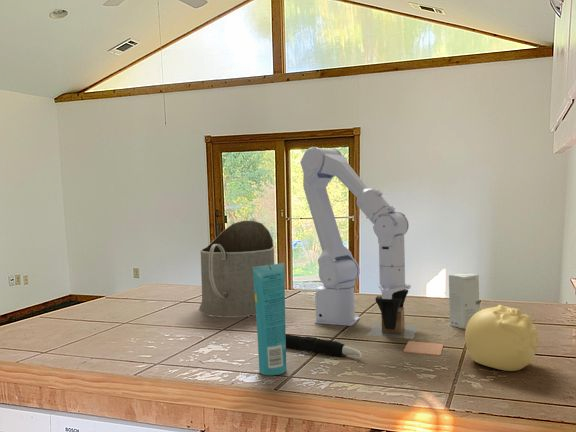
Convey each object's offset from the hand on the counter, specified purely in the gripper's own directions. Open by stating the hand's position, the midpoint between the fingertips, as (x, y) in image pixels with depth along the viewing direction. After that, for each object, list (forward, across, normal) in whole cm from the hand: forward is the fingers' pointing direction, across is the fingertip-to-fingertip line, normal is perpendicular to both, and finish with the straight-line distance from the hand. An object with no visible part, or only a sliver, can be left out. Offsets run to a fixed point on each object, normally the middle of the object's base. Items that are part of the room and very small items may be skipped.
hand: (393, 324), depth 107 cm
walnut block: (+2, 0, 0) cm, 2 cm away
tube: (+2, -32, +16) cm, 36 cm away
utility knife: (+2, -20, +12) cm, 23 cm away
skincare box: (+2, +10, -15) cm, 18 cm away
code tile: (+2, 0, 0) cm, 2 cm away
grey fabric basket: (+2, +8, +46) cm, 47 cm away
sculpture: (+2, -16, -22) cm, 27 cm away
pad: (+2, -11, -8) cm, 14 cm away
